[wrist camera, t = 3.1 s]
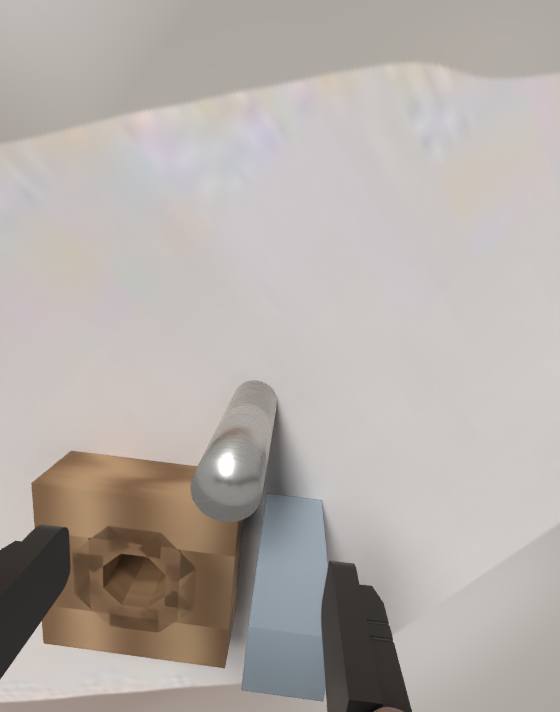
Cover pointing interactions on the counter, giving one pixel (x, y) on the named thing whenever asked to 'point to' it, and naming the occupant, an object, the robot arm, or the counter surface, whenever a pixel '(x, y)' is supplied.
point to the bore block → (139, 560)
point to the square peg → (288, 602)
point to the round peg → (237, 456)
